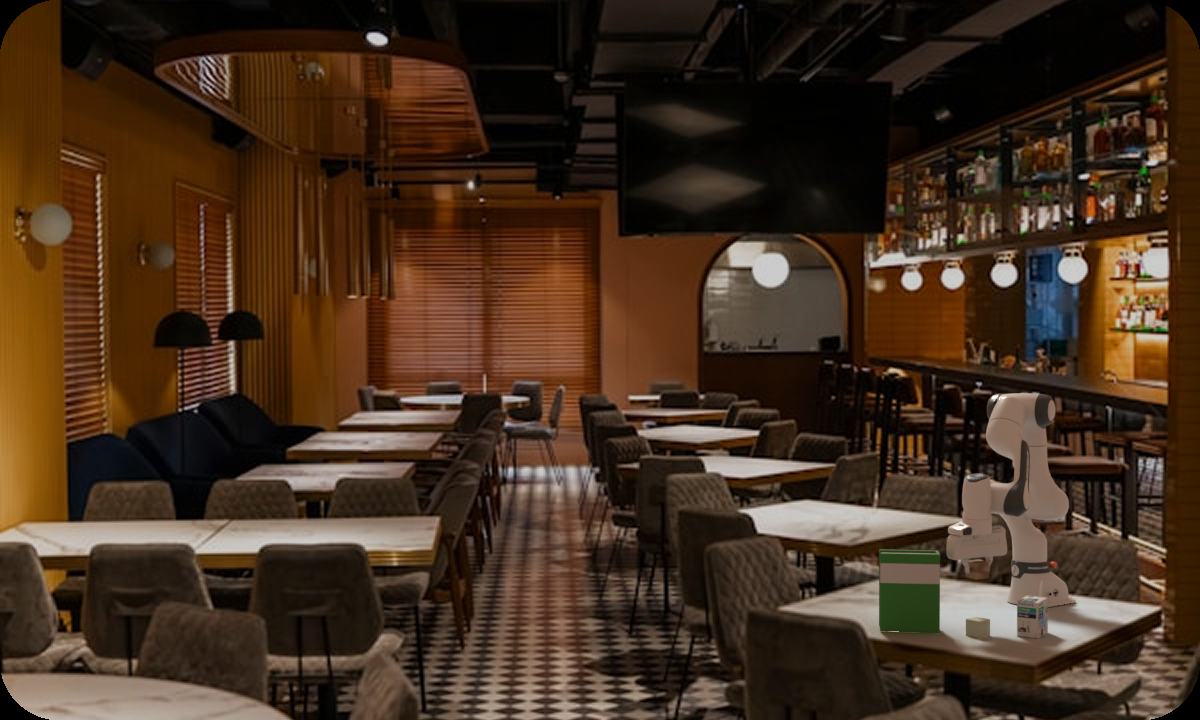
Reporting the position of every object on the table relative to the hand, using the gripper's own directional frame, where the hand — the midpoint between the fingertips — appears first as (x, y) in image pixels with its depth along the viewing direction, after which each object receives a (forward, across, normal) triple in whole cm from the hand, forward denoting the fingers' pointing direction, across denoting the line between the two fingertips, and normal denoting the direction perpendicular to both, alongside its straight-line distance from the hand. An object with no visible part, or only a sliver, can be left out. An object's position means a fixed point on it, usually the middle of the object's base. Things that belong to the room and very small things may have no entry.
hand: (977, 572), depth 450 cm
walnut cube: (+2, 0, 0) cm, 2 cm away
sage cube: (+17, +7, +9) cm, 21 cm away
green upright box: (+17, +22, -5) cm, 28 cm away
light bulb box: (+18, -9, +14) cm, 24 cm away
